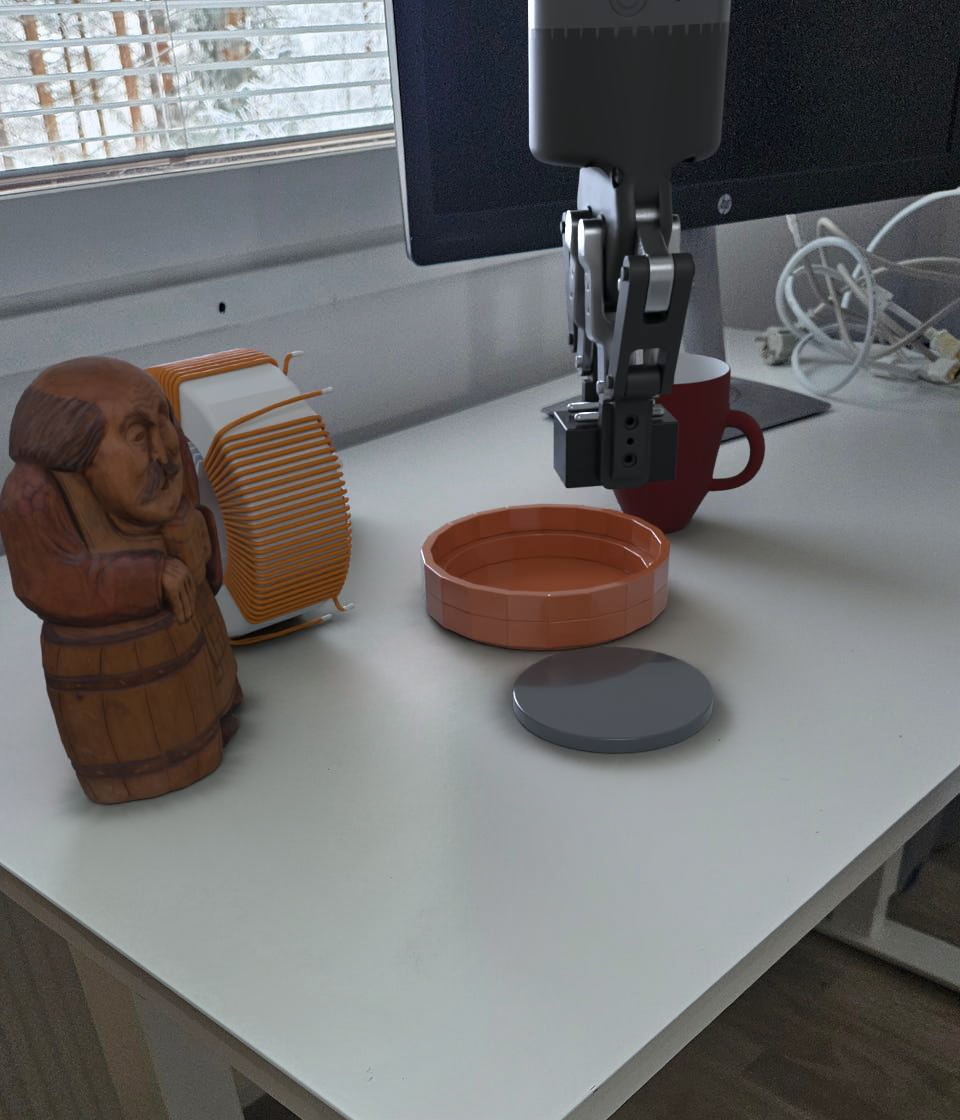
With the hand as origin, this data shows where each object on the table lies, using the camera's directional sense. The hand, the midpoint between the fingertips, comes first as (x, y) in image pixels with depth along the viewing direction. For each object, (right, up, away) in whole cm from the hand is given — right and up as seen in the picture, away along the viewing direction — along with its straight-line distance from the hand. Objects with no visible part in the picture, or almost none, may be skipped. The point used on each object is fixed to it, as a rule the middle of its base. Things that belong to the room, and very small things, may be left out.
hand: (613, 471), depth 56 cm
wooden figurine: (-21, -12, +4) cm, 25 cm away
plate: (+1, -10, +6) cm, 12 cm away
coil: (-19, -4, +16) cm, 25 cm away
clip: (0, 0, 0) cm, 0 cm away
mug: (+7, +5, +27) cm, 28 cm away
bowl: (-2, -3, +17) cm, 17 cm away
